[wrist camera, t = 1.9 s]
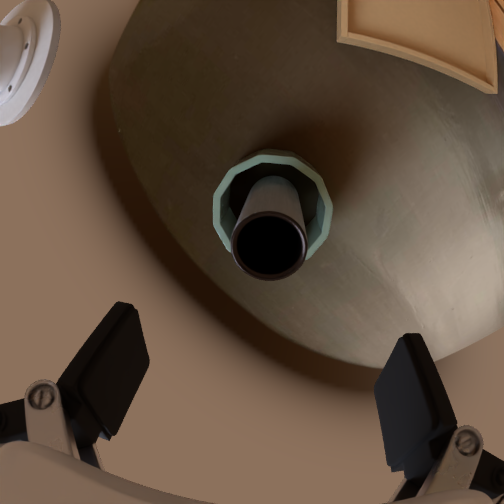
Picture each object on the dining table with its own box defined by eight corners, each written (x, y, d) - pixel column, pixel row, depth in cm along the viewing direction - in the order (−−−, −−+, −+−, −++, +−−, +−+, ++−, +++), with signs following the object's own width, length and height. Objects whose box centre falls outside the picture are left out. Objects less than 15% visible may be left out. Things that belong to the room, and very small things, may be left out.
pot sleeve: (222, 240, 28) (212, 262, 24) (225, 146, 24) (214, 151, 20) (316, 249, 27) (321, 273, 23) (329, 155, 23) (339, 163, 19)
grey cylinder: (300, 176, 24) (312, 213, 15) (296, 224, 26) (303, 284, 17) (249, 174, 25) (229, 208, 15) (248, 221, 27) (230, 279, 17)
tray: (336, 42, 18) (340, 36, 16) (334, -67, 11) (337, -77, 10) (486, 94, 17) (497, 94, 15) (475, -14, 10) (484, -18, 9)
